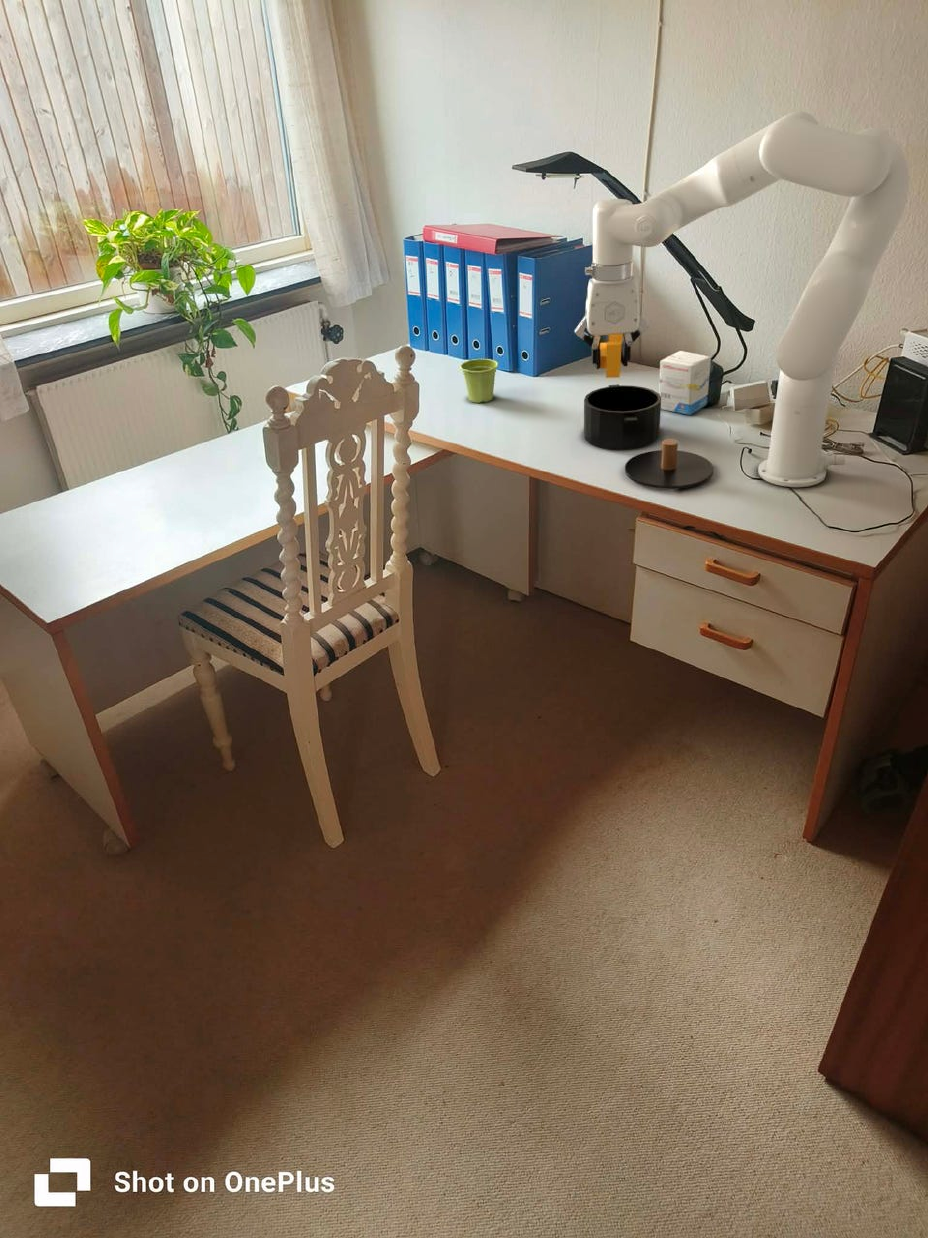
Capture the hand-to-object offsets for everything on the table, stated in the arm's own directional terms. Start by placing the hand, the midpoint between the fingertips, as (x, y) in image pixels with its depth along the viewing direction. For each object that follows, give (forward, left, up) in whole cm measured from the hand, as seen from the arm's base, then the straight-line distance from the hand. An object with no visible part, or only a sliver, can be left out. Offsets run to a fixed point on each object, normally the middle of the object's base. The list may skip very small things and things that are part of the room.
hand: (610, 364), depth 176 cm
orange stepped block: (0, 0, -1) cm, 1 cm away
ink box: (-21, -23, -19) cm, 37 cm away
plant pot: (+26, -39, -19) cm, 50 cm away
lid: (-10, +12, -19) cm, 24 cm away
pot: (-4, -9, -19) cm, 22 cm away
